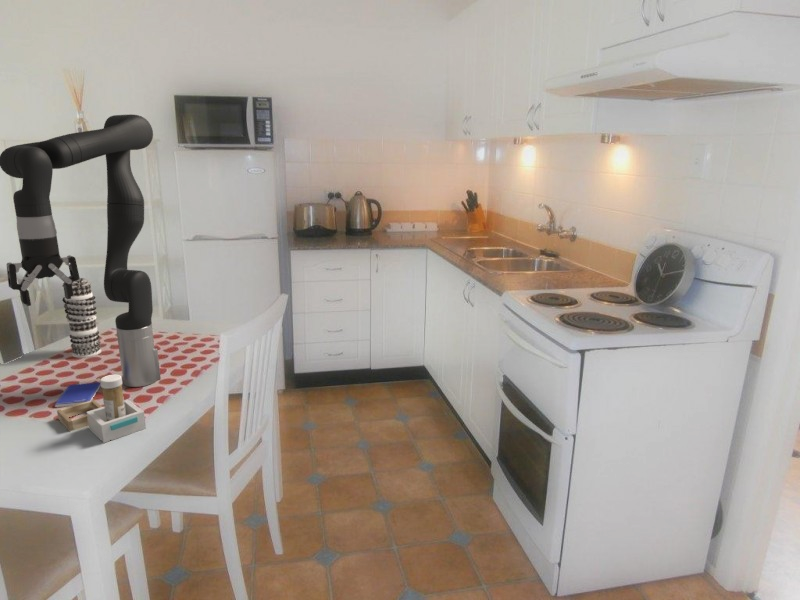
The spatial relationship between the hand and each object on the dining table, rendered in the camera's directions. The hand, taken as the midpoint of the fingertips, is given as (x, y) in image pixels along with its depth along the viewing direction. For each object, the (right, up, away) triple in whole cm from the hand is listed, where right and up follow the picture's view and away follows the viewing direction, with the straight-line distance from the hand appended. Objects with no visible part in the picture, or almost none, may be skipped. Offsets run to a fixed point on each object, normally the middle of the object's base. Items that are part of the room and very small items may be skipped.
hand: (48, 301), depth 133 cm
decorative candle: (-19, -17, +50) cm, 56 cm away
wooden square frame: (+5, -30, +6) cm, 31 cm away
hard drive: (-4, -27, +19) cm, 33 cm away
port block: (+16, -31, +2) cm, 35 cm away
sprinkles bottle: (+16, -31, +2) cm, 35 cm away
